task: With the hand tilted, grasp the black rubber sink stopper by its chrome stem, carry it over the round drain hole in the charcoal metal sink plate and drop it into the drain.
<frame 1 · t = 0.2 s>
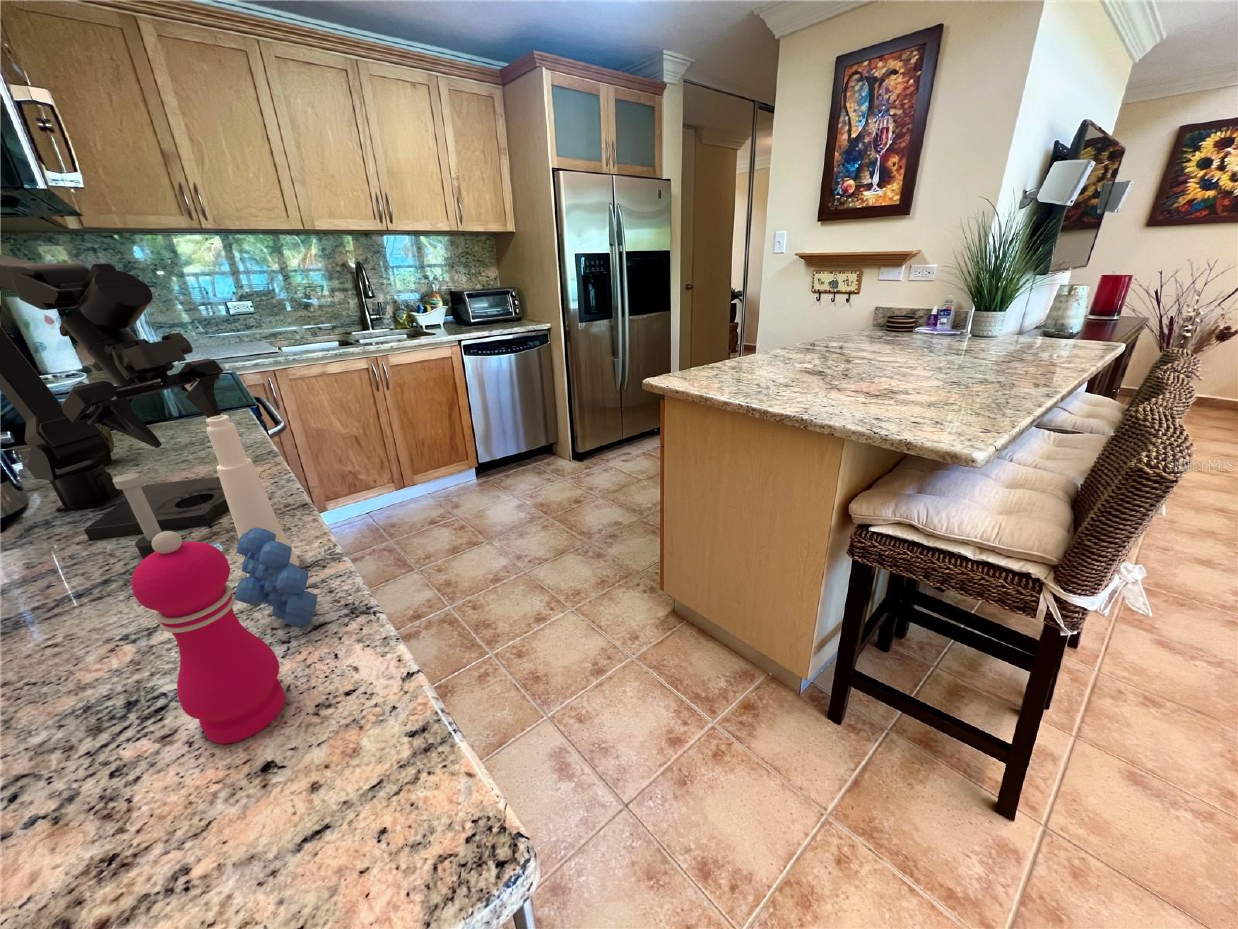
hand: (192, 435, 74), 15 cm above the countertop, tool tilted 35°, fingers open, 9 cm apart
grapes: (284, 624, 58), on the countertop
sink plate: (178, 508, 85), on the countertop
stopper: (162, 552, 72), on the countertop
pepper mill: (248, 715, 47), on the countertop
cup: (101, 465, 104), on the countertop
cosmetic bottle: (274, 572, 67), on the countertop
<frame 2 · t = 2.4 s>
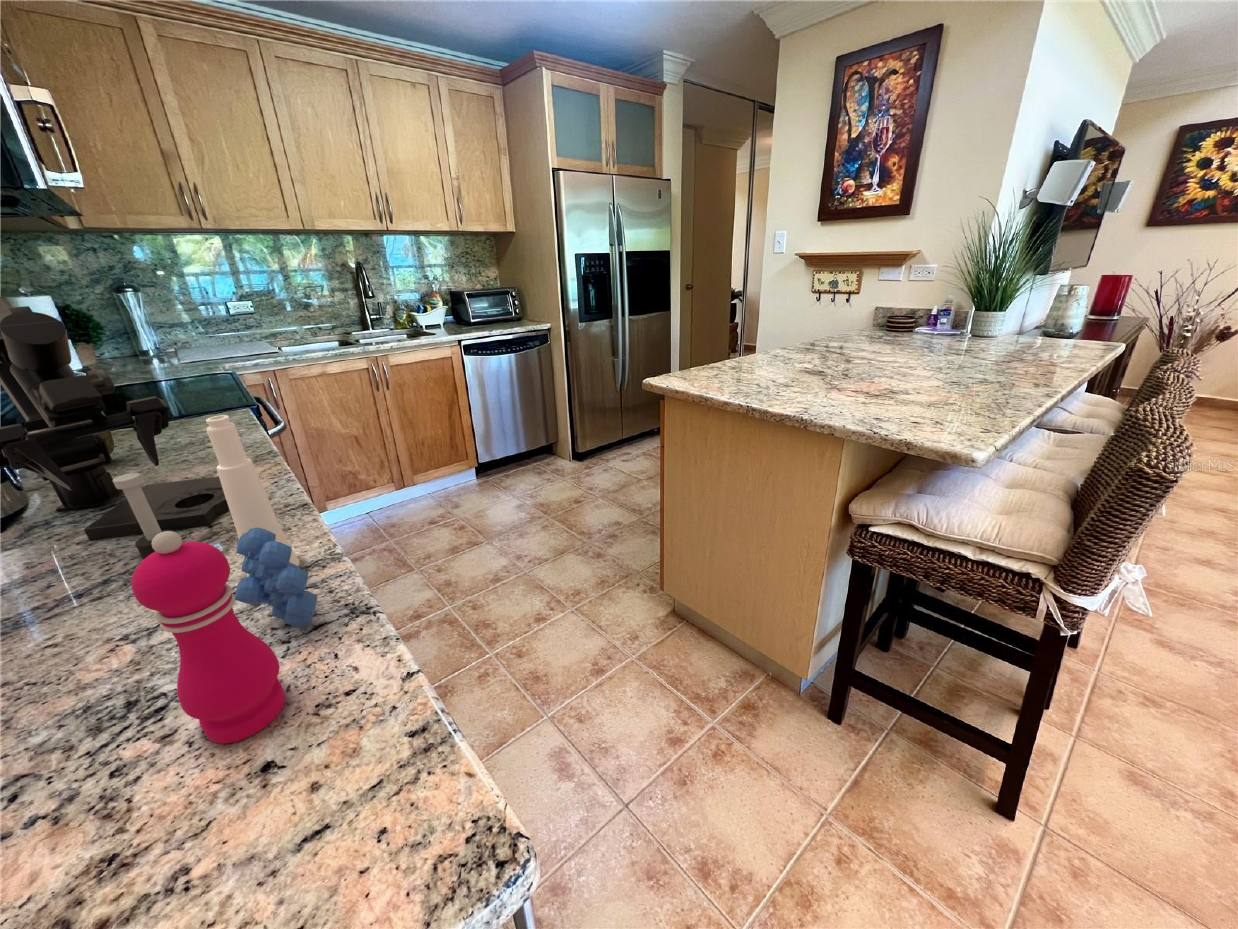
hand: (117, 475, 70), 11 cm above the countertop, tool tilted 45°, fingers open, 9 cm apart
nothing on the countertop moved.
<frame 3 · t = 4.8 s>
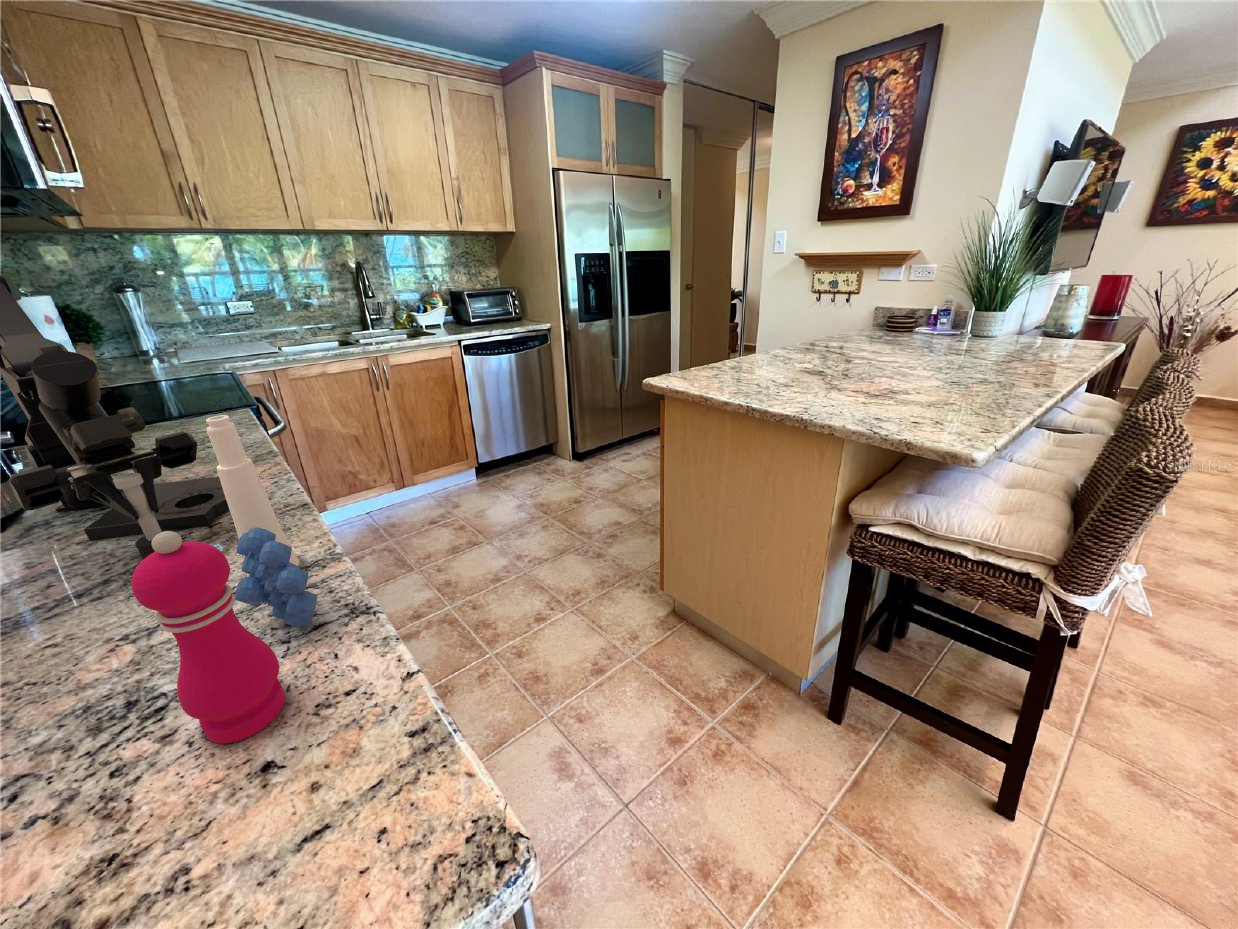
hand: (147, 515, 69), 7 cm above the countertop, tool tilted 45°, fingers closed on stopper, 2 cm apart
stopper: (162, 552, 72), on the countertop, touching gripper
everything else where it was.
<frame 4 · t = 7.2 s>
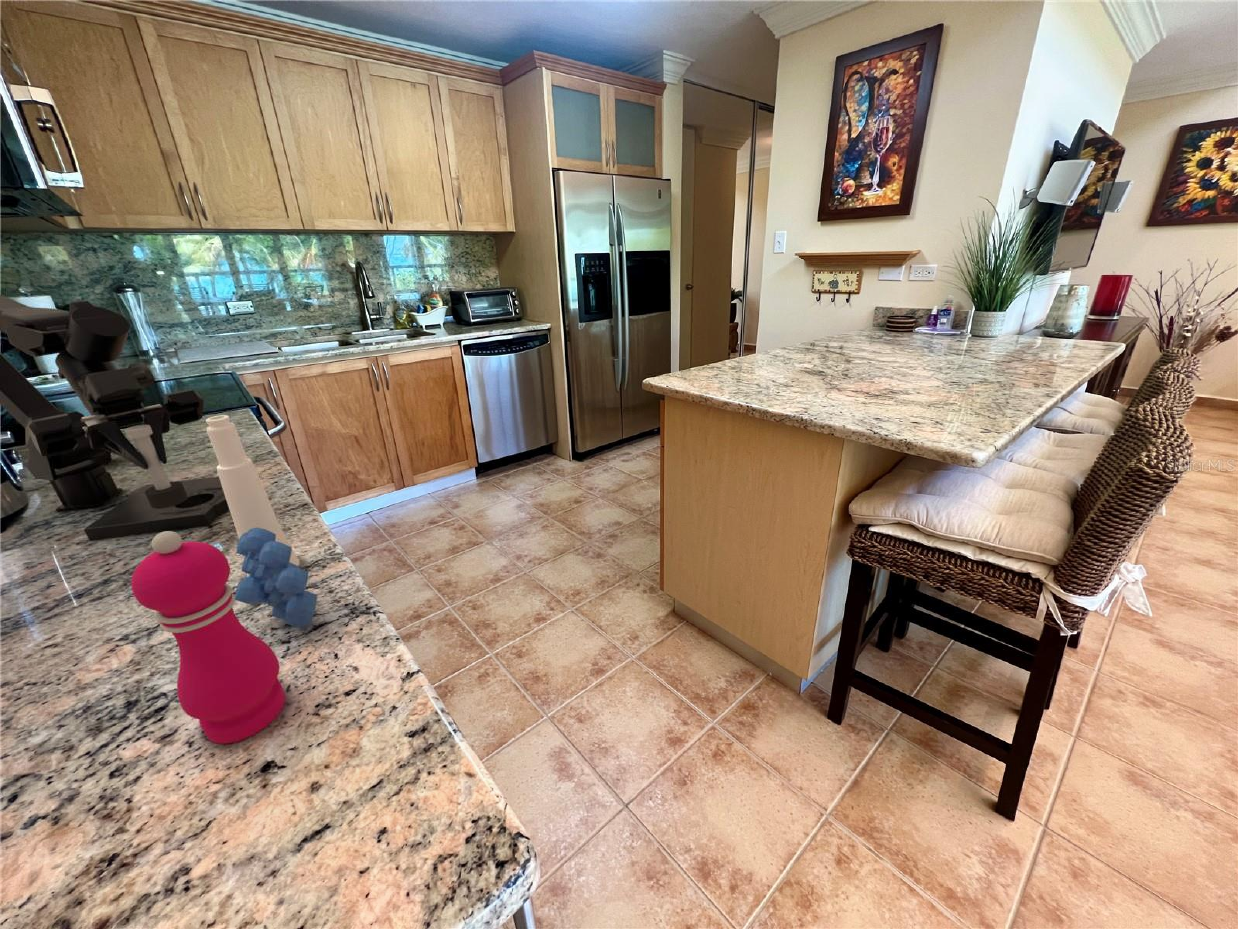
hand: (156, 465, 73), 11 cm above the countertop, tool tilted 45°, fingers closed on stopper
stopper: (170, 501, 76), point 5 cm above the countertop, touching gripper
everything else where it was.
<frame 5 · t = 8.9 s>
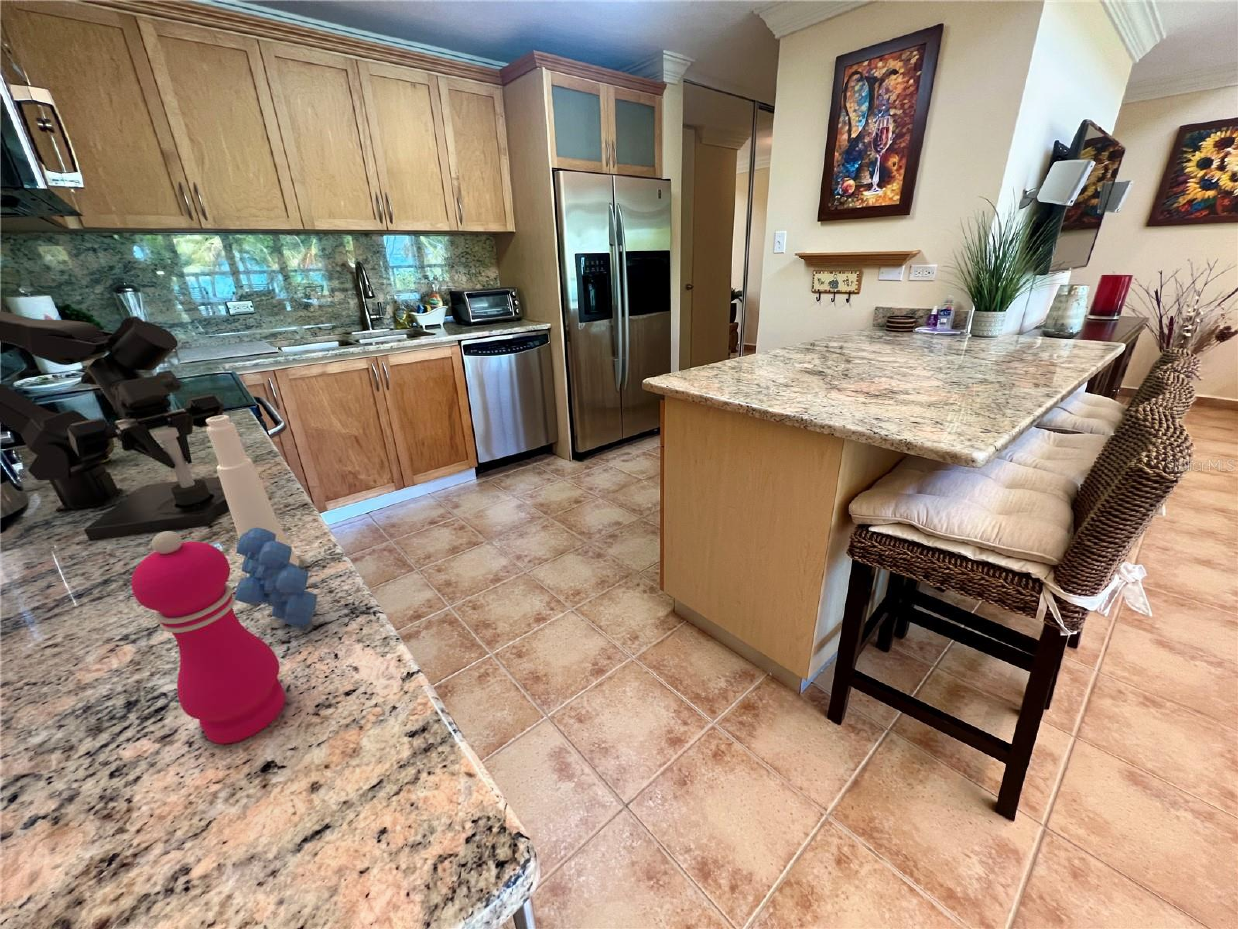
hand: (182, 464, 79), 9 cm above the countertop, tool tilted 45°, fingers closed on stopper, 2 cm apart
stopper: (193, 498, 83), point 2 cm above the countertop, touching gripper
everything else where it was.
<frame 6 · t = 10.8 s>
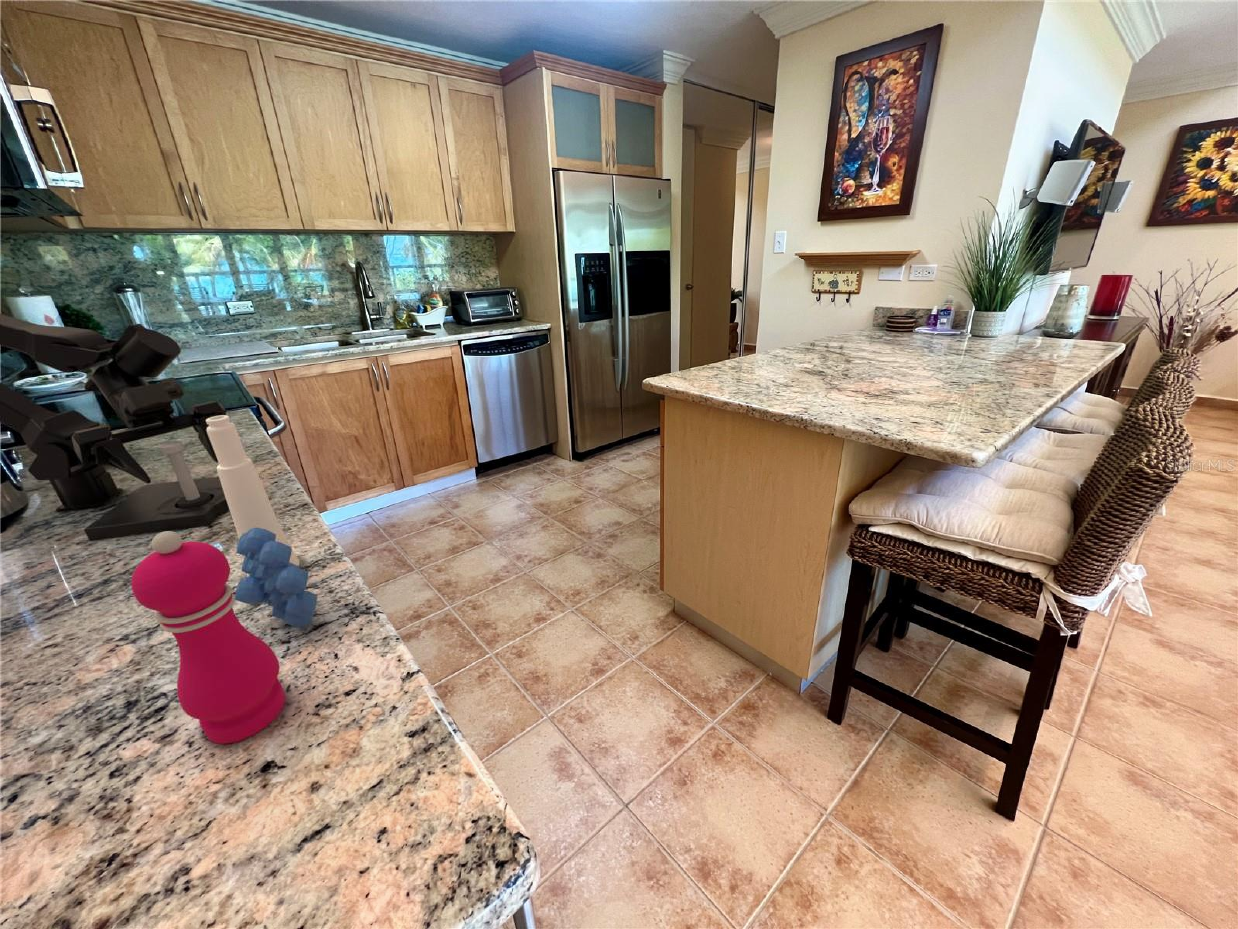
hand: (185, 471, 80), 8 cm above the countertop, tool tilted 45°, fingers open, 9 cm apart
stopper: (198, 510, 84), resting in sink plate
everything else where it was.
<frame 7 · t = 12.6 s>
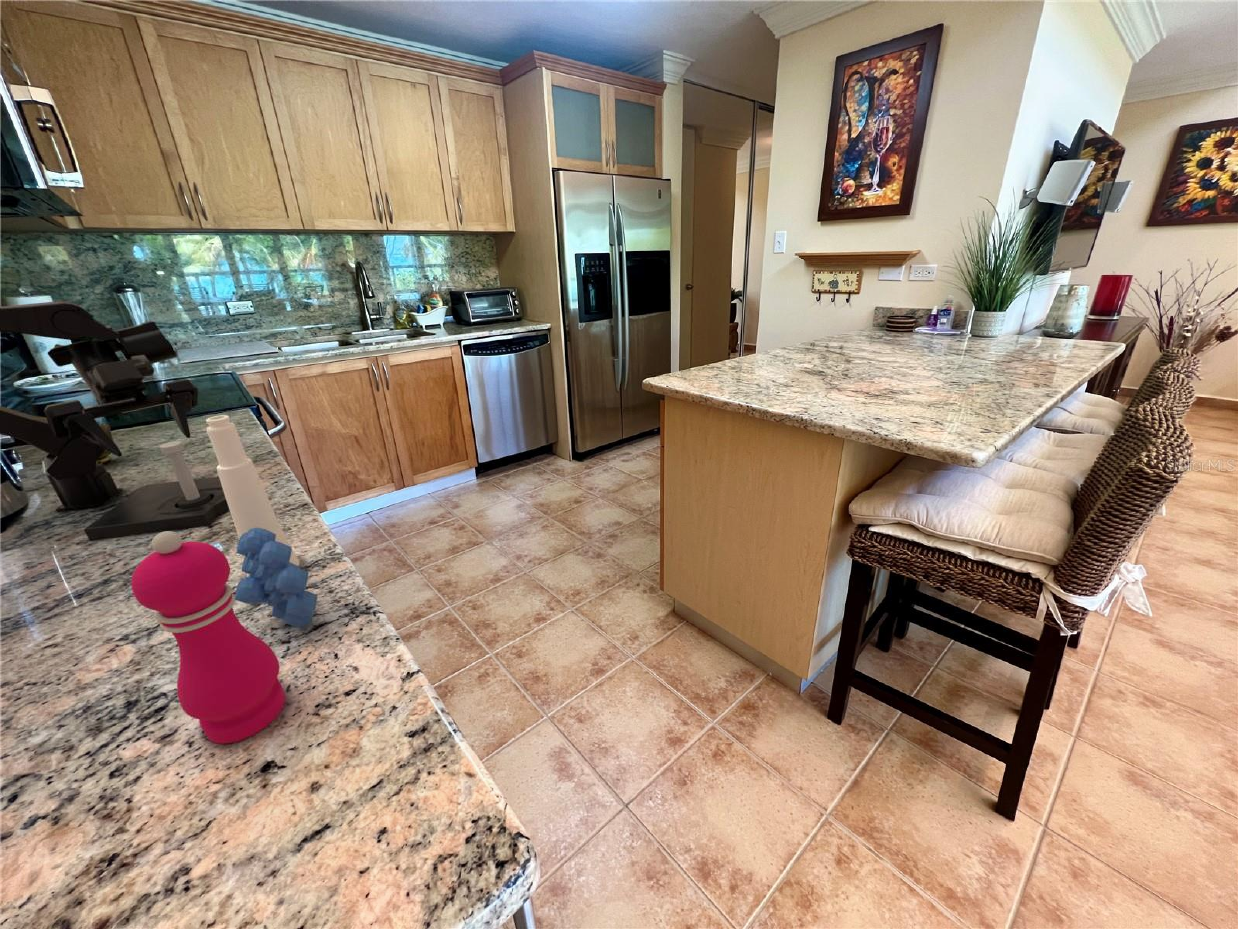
hand: (156, 445, 83), 11 cm above the countertop, tool tilted 45°, fingers open, 9 cm apart
nothing on the countertop moved.
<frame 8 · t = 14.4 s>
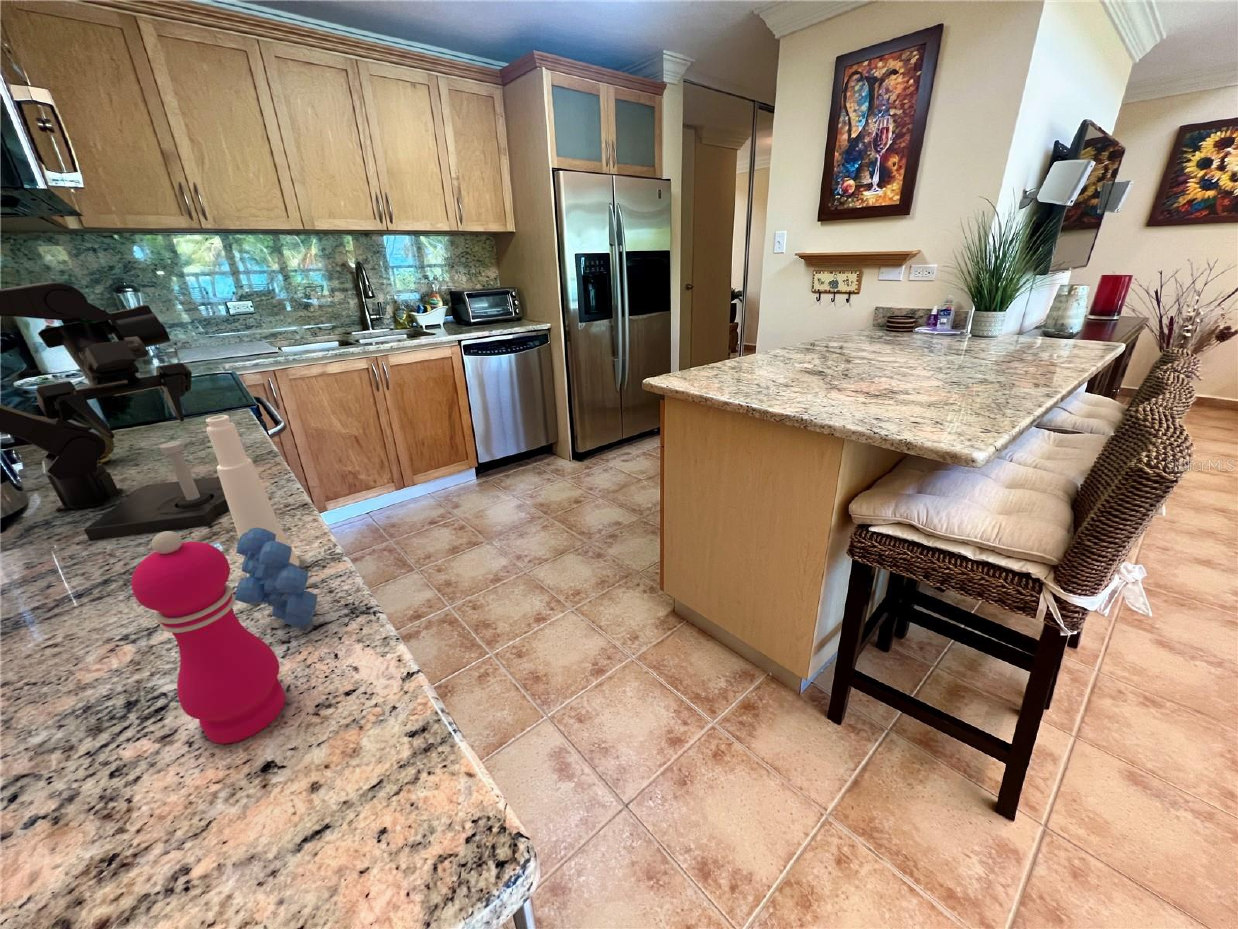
hand: (149, 428, 82), 14 cm above the countertop, tool tilted 45°, fingers open, 9 cm apart
nothing on the countertop moved.
at the end: stopper 0.0 cm from the target spot in the sink plate, point 0.0 cm above the sink plate's base; stopper tilted 0°; the gripper is holding nothing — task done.
